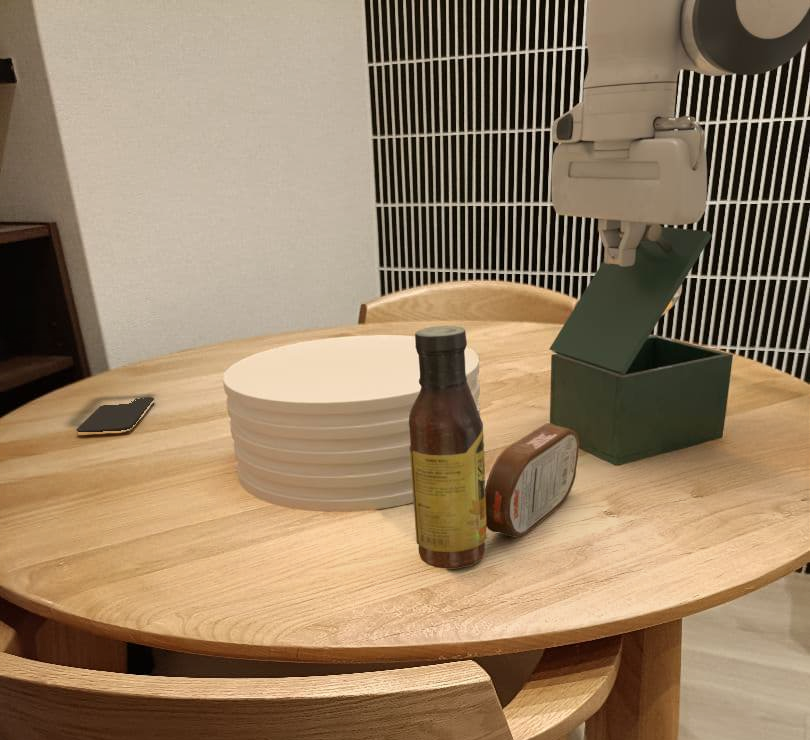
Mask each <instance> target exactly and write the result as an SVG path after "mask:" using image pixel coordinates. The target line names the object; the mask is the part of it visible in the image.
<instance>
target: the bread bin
mask: <svg viewBox="0 0 810 740" xmlns="http://www.w3.org/2000/svg"><path fill="white" fill-rule="evenodd" d="M733 359H734V354H732V353H727V352H724V351H720V350H717V349H712V348H709V347H705V346H701V345H696V344H693V343H688V342H685V341H681V340H677V339H673V338H668V337H664V336H661V335H657V334H652V335H650V336H649V337H648V338H647V340H646V341H645V343H644V345H643V346H642V348H641V349H640V351H639V353H638V354H637V356H636V357H635V359H634V361H633V362H632V364H631V365H630V367H629V368H628V370H627V372H626V373H625V375H622V374H619V373H616V372H613V371H610V370H607V369H603V368H600V367H597V366H594V365H591V364H588V363H585V362H582V361H579V360H576V359H573V358H570V357H567V356H563V355H560V354H557V353H553V354H551V355H550V361H551V362H550V392H549V393H550V394H549V397H550V399H549V423H552V424H554V425H556V426H561V427H565V428H568V429H571V430H573V431H575V432H576V434H577V435H578V438H579V449H581V450H582V451H584V452H587V453H589V454H591V455H593V456H595V457H598V458H599V459H602V460H604V461H606V462H608V463H610V464H613V465H615V466H619V465H622V464H623V465H624V464H628V463H631V462H634V461H639V460H642V459H645V458H650V457H653V456H657V455H658V456H659V455H661V454H665V453H670V452H672V451H676V450H680V449H684V448H689V447H692V446H696V445H699V444H704V443H707V442H711V441H716V440H719V439H723V437H724V431H725V423H726V415H727V408H728V399H729V392H730V391H729V390H730V383H731V374H732V367H733Z"/></svg>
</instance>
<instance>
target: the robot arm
mask: <svg viewBox="0 0 810 740" xmlns="http://www.w3.org/2000/svg"><path fill="white" fill-rule="evenodd" d="M585 13H586V14H585V33H584V34H585V35H584V37H585V43H586V48H587V55H588V65H587V72H586V75H585V78H584V82H583V91H582V101H580V102H579V103H577V104H576V105H575V106H574V107H573V108H571V109H570V110H568V111H567V112H565V113H563V114H562V115H560V117H558V118H556V119H555V120H554V121H553V123H552V125H551V138H552V141H553V142H554V143H556V144H558V145H557V146H556V147H555V149H554V151H553V154H552V163H551V202H552V203H551V204H552V206H553V209H554V211H555V213H556V214H557V216H567V217H578V218H587V219H588V218H589V219H598V220H597V232H598V233H599V237H600V239H601V242H602V245H603V247H604V256H603V257H604V258H603V261H604V262H605V263H606V264H609V265H616V266H622V267H627V266H632V265H633V264H634V263H635V254H636V248H637V246H638V244H639V242H640V240H641V239H642V237H643V235H644V233H645V230H646V223H653V224H659V225H666V226H684V225H689V224H690V225H691V224H695V223H698V222H699V221H700V220H701V218H702V217H703V215H704V214H705V211H706V209H707V196H708V195H707V194H708V167H707V166H708V165H707V153H706V148H705V145H706V133H705V130H704V129H703V127H702V126H701V124H700V123H699V122H698V121H697V120H696V118H695V117H694V116H690V115H684V116H680V117H675V110H676V97H677V86H678V83H677V82H678V75H679V73H680V72H681V70H684V71H691V72H695V73H697V74H700V75H704V76H711V77H720V76H732V75H739V76H756V75H762V74H766V73H768V72H771V71H773V70H776V69H778V68H780V67H781V66H783V65H785V64H786V63H787V62H789V61H790V60H791V59H793V58H794V57H795V56H797V54H798V53H800V52H801V51H802V49H803V48H804V47H805V46H806V44H808V42H809V41H810V0H586V12H585ZM694 128H695V129H694ZM619 228H621V232H624V235H623V238H622V241H621V239H620V234H619V230H618V229H619Z"/></svg>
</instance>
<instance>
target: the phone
mask: <svg viewBox="0 0 810 740" xmlns="http://www.w3.org/2000/svg"><path fill="white" fill-rule="evenodd" d="M135 398H136V399H135V400H136V401H135V400H134V401H133V402H132V401H131V402H132V403H129V404H119V405H103V406H101V405H99V407H98V408H97V409H95V410H94V411H93V412H92V413H91V414H90V415H89V416H88V418H86V419H85V420H84V421H83V422H82V423H81V424H80V425H79V426H78V427H77V428H76V429H75V430H76V432H77V431H78V432H103V431H121V430H127V429H130V428H132V427H133V425H135V424H136V422H137V421H138V420H139V418H140V417H141V415H142V414H143V413H144V411H145V410H146V409H147V407H148V406H149V405H150V403H151V402H152V401H153V400H154V401H155V398H154V397H153V396H143V397H142V396H141V397H139V398H140V399H137V398H138V397H135ZM143 398H144V399H143Z"/></svg>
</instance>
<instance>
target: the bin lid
mask: <svg viewBox="0 0 810 740" xmlns="http://www.w3.org/2000/svg"><path fill="white" fill-rule="evenodd" d="M618 230H619V234H620V239H621V241H622V238H623V235H624V232H621V228H619V229H618ZM712 237H713V234H711V232H709V231H708V230H699V229H690V228H678V227H668V226H661V224H653V223H646V230H645V233H644V235H643V237H642V239H641V240H640V242H639V244H638V246H637V248H636V254H635V263H634V264H633V265H632V266H627V267H622V266H616V265H609V264H606V263H605V262H604V260H603V261H602V262H601V264H600V266H599V267H598V269H597V271H596V272H595V274H594V276H593V277H592V278H591V280H590V282H589V283H588V284H587V287H586V288H585V290H584V291H583V293H582V295H581V296H580V298H579V300H578V301H577V303H576V305H575V306H574V308H573V309H572V311H571V312H570V314H569V316H568V318H567V319H566V321H565V323H564V324H563V325H562V327H561V329H560V331H559V332H558V333H557V336H556V337H555V338H554V340H553V342H552V344H551V345H550V347H549V350H550V351H551V352H552V353H553V354H560V355H563V356H567V357H570V358H573V359H576V360H579V361H582V362H585V363H588V364H591V365H594V366H597V367H600V368H603V369H607V370H610V371H613V372H616V373H619V374H622V375H625V373H626V372H627V370H628V368H629V367H630V365H631V364H632V362H633V361H634V359H635V357H636V356H637V354H638V353H639V351H640V349H641V348H642V346H643V345H644V343H645V341H646V340H647V338H648V337H649V335H650V333H651V334H652V332H653V330H654V329H655V327H656V326H657V324H658V323H659V320H660V319H661V318H662V317H663V315H662V314H663V313H664V311H665V310H666V308H667V306H668V305H669V303H670V302H671V300H672V299H673V297H674V295H675V294H676V292H677V291H678V289H679V287H680V286H681V284H682V285H683V283H684V282H685V279H686V278H687V276H689V273H690V272H691V270H692V269H693V267H694V266H695V263H696V262H697V261H698V259H699V257H700V256H701V254H702V252H703V251H704V250H705V248H706V245H707V244H708V243H709V241H710V240H711V238H712ZM650 336H651V335H650Z"/></svg>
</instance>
